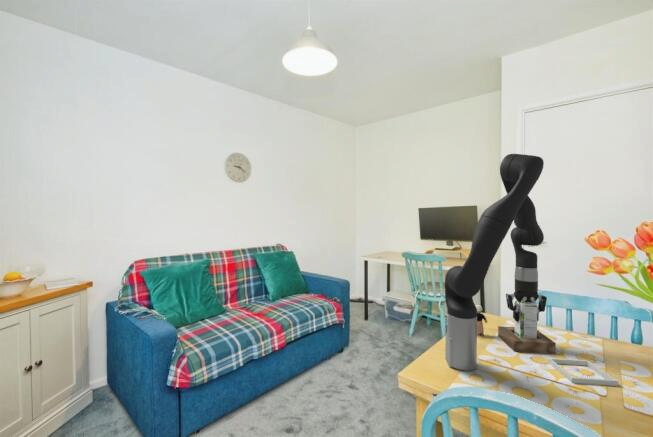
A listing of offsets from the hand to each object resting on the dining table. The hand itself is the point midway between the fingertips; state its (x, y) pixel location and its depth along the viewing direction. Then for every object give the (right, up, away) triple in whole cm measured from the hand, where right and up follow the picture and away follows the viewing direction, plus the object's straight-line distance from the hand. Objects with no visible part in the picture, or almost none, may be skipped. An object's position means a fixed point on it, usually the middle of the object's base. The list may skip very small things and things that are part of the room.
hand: (525, 321), depth 116 cm
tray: (+4, -10, -20) cm, 23 cm away
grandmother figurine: (-14, -9, +10) cm, 19 cm away
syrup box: (0, -7, 0) cm, 7 cm away
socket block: (0, -9, +1) cm, 9 cm away
